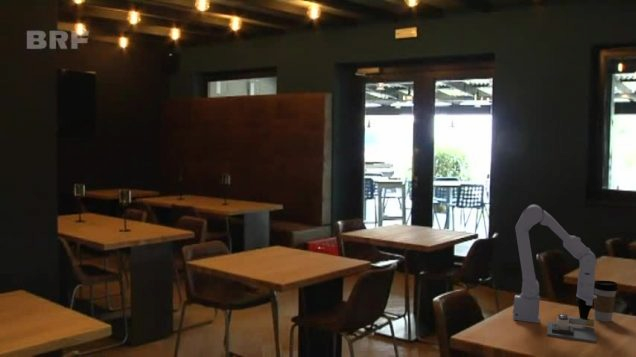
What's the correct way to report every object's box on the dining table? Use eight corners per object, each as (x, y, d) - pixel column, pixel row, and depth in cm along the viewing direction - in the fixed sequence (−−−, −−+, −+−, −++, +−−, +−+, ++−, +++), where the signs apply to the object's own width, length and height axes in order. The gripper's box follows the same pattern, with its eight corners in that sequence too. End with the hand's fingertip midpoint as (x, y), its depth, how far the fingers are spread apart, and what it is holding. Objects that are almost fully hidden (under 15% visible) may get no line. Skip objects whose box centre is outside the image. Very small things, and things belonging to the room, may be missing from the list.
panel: (547, 336, 216) (547, 330, 216) (547, 323, 231) (548, 318, 231) (596, 343, 211) (596, 337, 211) (594, 329, 226) (594, 324, 225)
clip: (557, 322, 226) (558, 315, 226) (557, 319, 229) (558, 313, 228) (593, 327, 221) (594, 320, 221) (593, 324, 224) (593, 318, 224)
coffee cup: (617, 323, 234) (620, 285, 233) (594, 321, 236) (596, 283, 235) (611, 317, 242) (614, 280, 241) (588, 315, 244) (591, 278, 243)
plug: (555, 331, 219) (556, 318, 218) (555, 328, 223) (556, 314, 223) (569, 334, 217) (570, 319, 217) (569, 330, 222) (570, 316, 221)
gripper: (602, 289, 220) (599, 326, 221) (592, 279, 234) (590, 314, 235) (581, 287, 222) (579, 324, 223) (573, 278, 236) (570, 313, 237)
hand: (583, 319), depth 229 cm, fingers closed
